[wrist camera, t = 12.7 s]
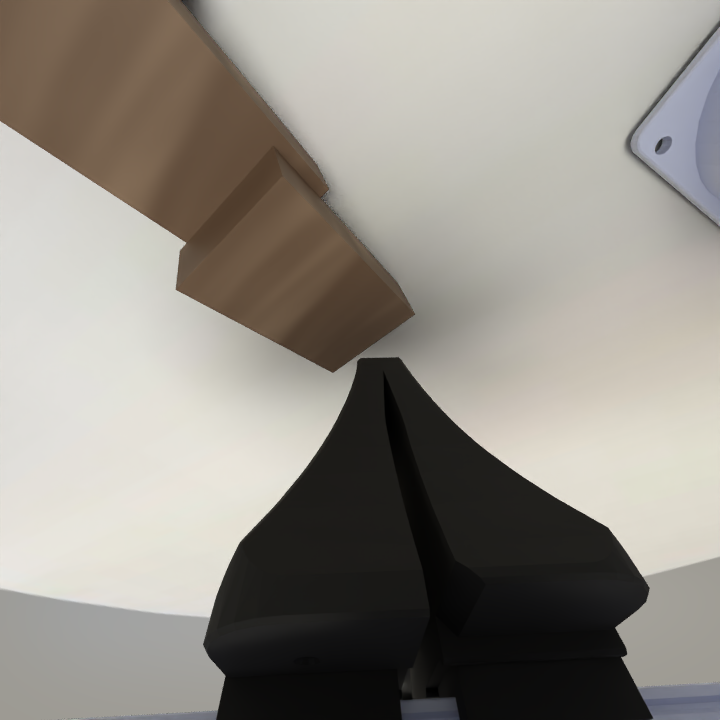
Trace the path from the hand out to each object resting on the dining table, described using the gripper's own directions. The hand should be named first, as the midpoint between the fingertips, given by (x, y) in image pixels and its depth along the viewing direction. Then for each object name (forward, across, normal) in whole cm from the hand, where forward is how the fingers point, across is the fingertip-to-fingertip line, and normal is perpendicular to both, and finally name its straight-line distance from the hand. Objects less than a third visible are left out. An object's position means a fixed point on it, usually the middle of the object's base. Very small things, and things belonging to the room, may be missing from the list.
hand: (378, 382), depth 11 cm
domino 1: (+4, +3, -4) cm, 7 cm away
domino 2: (+4, 0, 0) cm, 4 cm away
